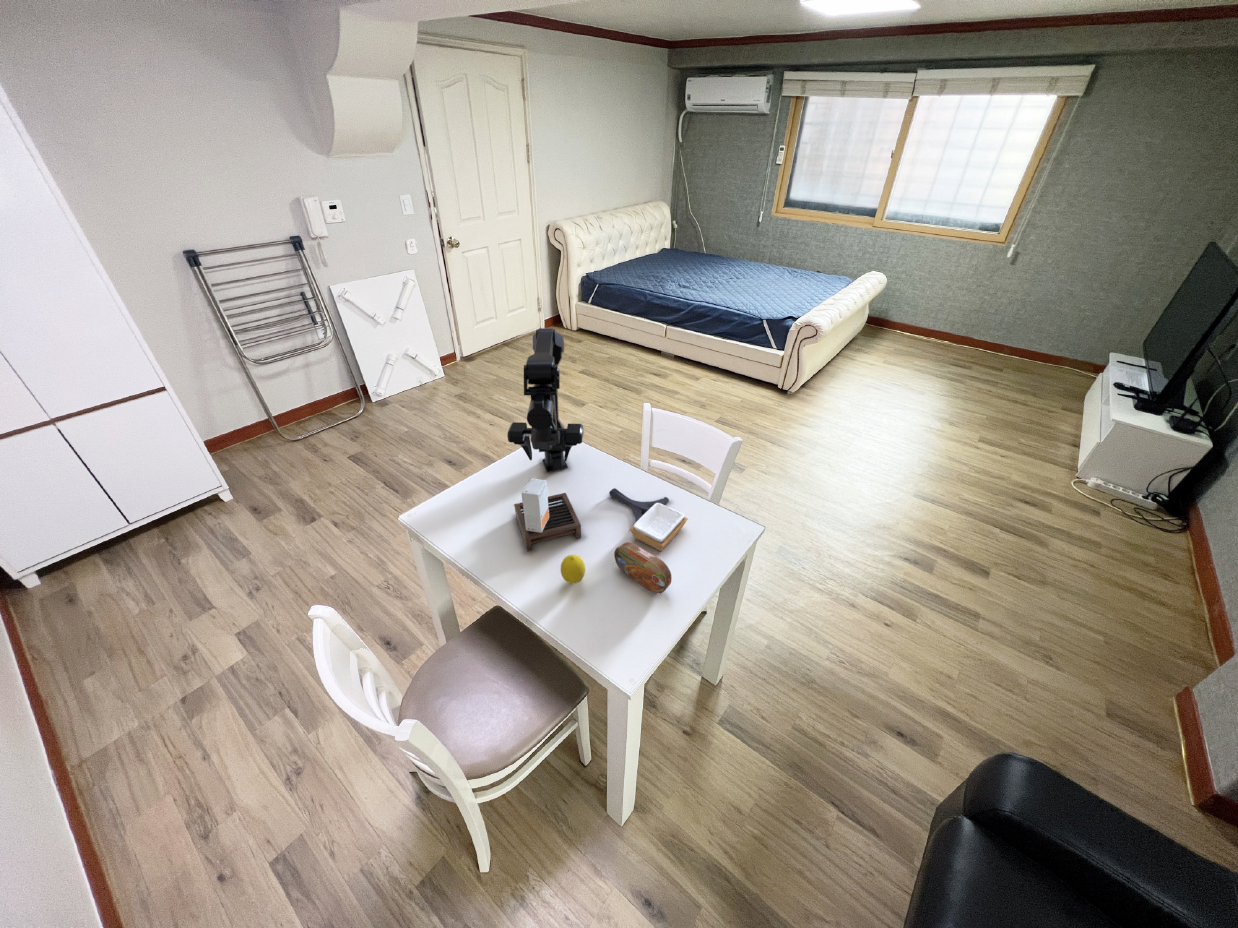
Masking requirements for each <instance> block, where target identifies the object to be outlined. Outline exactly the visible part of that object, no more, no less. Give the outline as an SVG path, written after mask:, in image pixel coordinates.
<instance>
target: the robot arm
mask: <svg viewBox="0 0 1238 928" xmlns="http://www.w3.org/2000/svg"><path fill="white" fill-rule="evenodd" d="M532 350H533V354H531V355H529V356H528V357H527V358H526V361H525V362H526V363H525V364H523V396H530V401H529V405H528V410H527V415H526V420H527V422H519V421H517V422H516V421H512V423H511V424H510V425H509V428H508V430H507V442H508V443H513V444H514V445H518V446H520V447H521V448H522V449H523V451H524V453H525V454H526V456H527V457H528V459H529V461H533V450H536V451H537V450H538V453H544V458H543V459H542V464H543V465H544V466H543V467H544V469H545V470H546V471H545V472H546V473H551V472H555V471H560V470H565V469H568V468H569V466H568V464H567V460H568V457H569V455H570V452H571V449H572V448H573V447H575V446H577V445H581V444H583V439H584V431H585V430H584V426H583V424H582V423H567V426H566V428H565V426H564V424H563V423H562V421H561V420H560V417H559V416H560V415H559V390H560V388H561V386H560V385H561V384H560V383H561V379H560V378H561V376H560V375H561V373H560V372H561V371H560V368H559V365H560V364H561V361H562V360H563V354H564V353H565V339H564V335H562V334H560V333H559V332H556V329H555V328H550V327H549V328H547V327H545V328H543V327H542V328H540V327H539V328H537V329H536V330H535V333H534V334H533V335H532ZM529 385H533V386H529ZM528 425H529V426H530V427H528ZM532 449H533V450H532Z"/></svg>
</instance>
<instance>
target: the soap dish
mask: <svg viewBox="0 0 1238 928" xmlns="http://www.w3.org/2000/svg"><path fill="white" fill-rule="evenodd" d="M649 508H650V509H649V510H648V511H647V512H646V513H645V514H644V513H643V514H642V515H643V516H642V517H641V518H640V519H639V520H638V521H637V522H636V523H635V522H634V524H633V525H632V526H631V527H630V528H629V531H630V533H631V534H632V535H633V537H634V538H635V539H636V540H638V541H640V542H642V543H644V544H646V545H648V546H649V547H652V548H653V549H655V550H657V551H658V552H663V550H664V549H665V548H666V546H667V545H668V544H669V543H670V542H671V541H672V540H673V539H674V538H675V537H676V536H677V534H678V533H679V532H680V531H681V530H682V529H683V527H684V526H685V524H686V522H687V521H688V517H686V516H685V514H684V513H682V512H680V511H678V510H676V509H673V508H671V507H669V506H667V505H666V504H665V505H663V504H660V503H656V504H654V505H653V506H652V507H649Z"/></svg>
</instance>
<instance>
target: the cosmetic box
mask: <svg viewBox="0 0 1238 928" xmlns="http://www.w3.org/2000/svg"><path fill="white" fill-rule="evenodd" d="M547 484H548V483H547V480H545V479H540V478H539V479H537V478H532V477H531V478H530V479H529V480H528V481H527V483H526V484H525V486H524V488H523V489H522V491H521V501H522V502H523V509H522V510H524V512H523V513H524V518H525V526H526V530H527V531H533V532H539V533H542V531H543V529H544V527H545V525H546V523H547V521H548V519H549V509H548V507H549V506H548V504H549V503H548V497H549V496H548V485H547Z"/></svg>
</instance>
